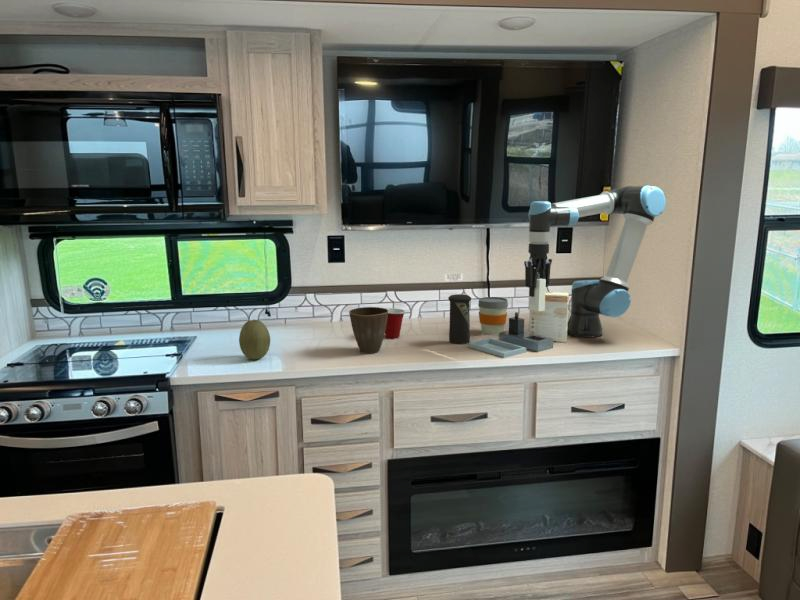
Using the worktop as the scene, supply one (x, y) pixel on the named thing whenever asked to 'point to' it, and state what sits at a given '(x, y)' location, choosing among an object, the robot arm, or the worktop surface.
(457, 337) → the container
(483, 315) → the reusable coffee cup
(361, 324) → the plant pot
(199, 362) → the worktop surface
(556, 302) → the coffeecake box
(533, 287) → the robot arm
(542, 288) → the plug
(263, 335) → the fruit
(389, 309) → the plastic cup
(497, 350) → the tray
